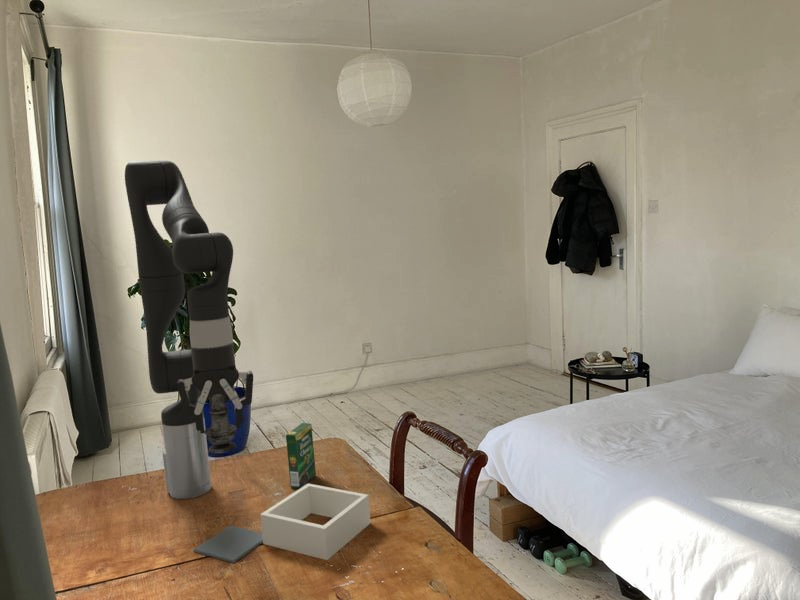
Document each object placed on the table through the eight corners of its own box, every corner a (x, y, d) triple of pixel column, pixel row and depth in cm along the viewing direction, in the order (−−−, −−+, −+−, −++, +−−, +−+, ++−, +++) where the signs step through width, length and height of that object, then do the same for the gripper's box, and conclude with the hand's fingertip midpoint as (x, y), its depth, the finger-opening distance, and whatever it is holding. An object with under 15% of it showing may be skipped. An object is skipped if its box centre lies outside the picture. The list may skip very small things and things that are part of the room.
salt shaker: (229, 454, 118) (223, 390, 117) (200, 453, 120) (193, 390, 118) (243, 442, 124) (237, 381, 122) (215, 442, 125) (209, 381, 124)
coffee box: (300, 489, 148) (295, 434, 146) (289, 488, 149) (284, 433, 147) (317, 475, 155) (312, 422, 153) (306, 474, 156) (302, 422, 154)
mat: (194, 551, 123) (193, 549, 122) (231, 527, 131) (231, 525, 131) (233, 562, 118) (233, 560, 118) (269, 537, 126) (269, 534, 126)
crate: (263, 543, 124) (260, 514, 123) (310, 510, 137) (307, 483, 136) (327, 560, 117) (324, 529, 116) (370, 523, 130) (368, 494, 129)
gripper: (169, 350, 114) (179, 442, 116) (253, 341, 117) (261, 430, 120) (172, 342, 121) (181, 429, 123) (250, 334, 125) (258, 418, 127)
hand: (220, 429), depth 121 cm, fingers closed on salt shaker, 6 cm apart
